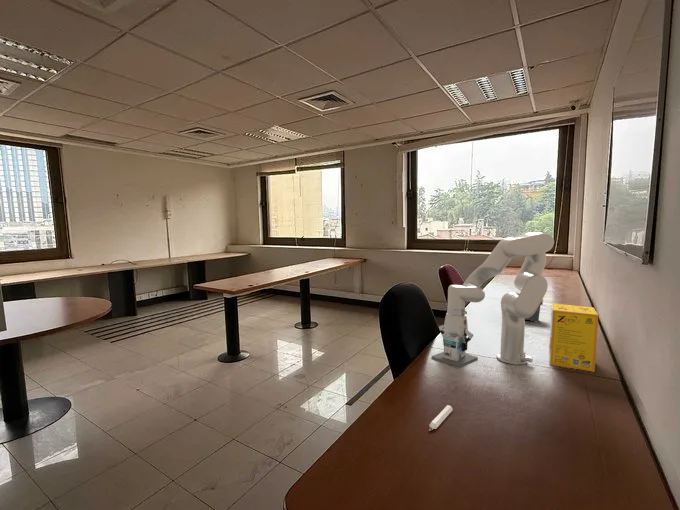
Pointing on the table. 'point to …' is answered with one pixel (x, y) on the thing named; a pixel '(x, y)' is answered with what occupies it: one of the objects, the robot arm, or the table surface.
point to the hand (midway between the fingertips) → (454, 347)
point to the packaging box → (573, 336)
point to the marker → (440, 417)
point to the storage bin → (535, 314)
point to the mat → (459, 363)
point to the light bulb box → (453, 347)
